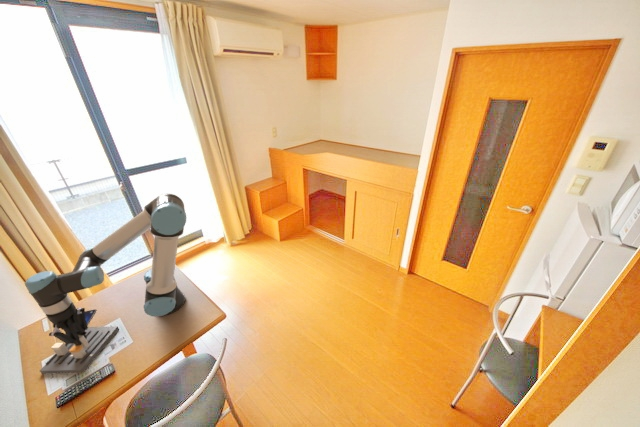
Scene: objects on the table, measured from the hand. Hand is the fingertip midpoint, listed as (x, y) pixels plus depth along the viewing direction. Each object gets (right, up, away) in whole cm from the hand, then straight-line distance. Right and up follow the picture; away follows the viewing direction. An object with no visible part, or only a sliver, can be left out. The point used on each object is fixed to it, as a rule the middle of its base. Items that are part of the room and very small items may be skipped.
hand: (85, 347), depth 102 cm
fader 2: (0, -3, -2) cm, 3 cm away
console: (-3, -3, +3) cm, 5 cm away
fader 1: (-8, -2, -1) cm, 9 cm away
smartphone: (-17, +3, +15) cm, 23 cm away
